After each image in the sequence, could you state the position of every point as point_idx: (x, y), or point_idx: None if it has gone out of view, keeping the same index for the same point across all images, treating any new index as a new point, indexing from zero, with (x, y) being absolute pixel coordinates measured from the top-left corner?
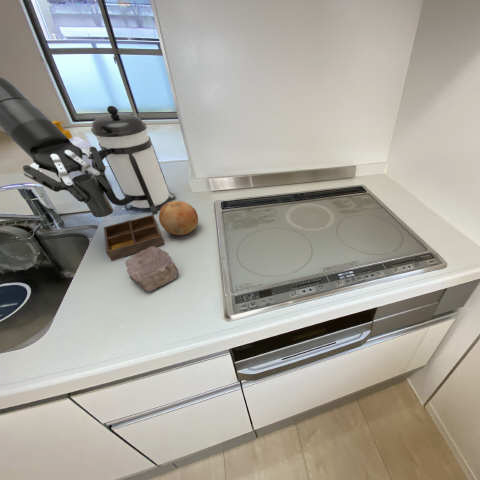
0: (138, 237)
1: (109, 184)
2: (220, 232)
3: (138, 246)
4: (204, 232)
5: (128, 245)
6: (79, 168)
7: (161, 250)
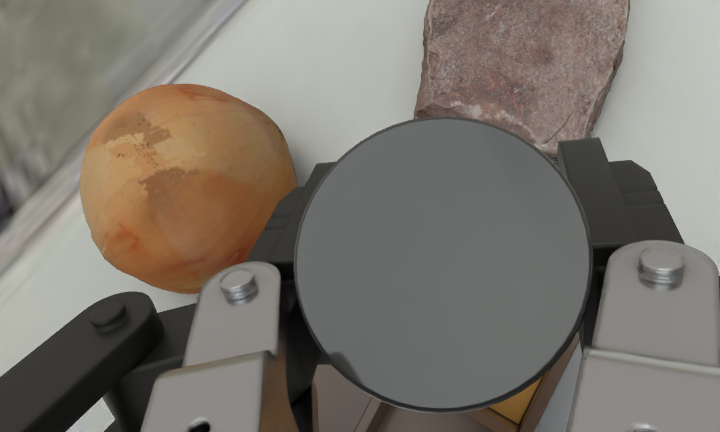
0: None
1: (279, 207)
2: (171, 66)
3: None
4: None
5: None
6: None
7: (434, 21)
